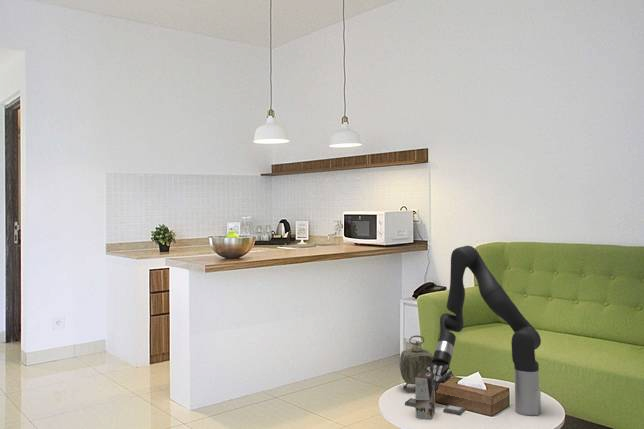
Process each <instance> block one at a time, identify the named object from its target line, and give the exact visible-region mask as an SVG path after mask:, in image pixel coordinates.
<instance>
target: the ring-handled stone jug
mask: <svg viewBox="0 0 644 429" xmlns="http://www.w3.org/2000/svg"><path fill="white" fill-rule="evenodd" d="M413 338H421V339H422V341H421V342H418V341H415V342H411V340H412V339H413ZM408 340H409V343H410V344H411V345H413V346H412V347H411V349H405V350H402V351H401V353H400V358H399V369H400V374H401V378H402V379H403V381H404V382H405V384H404V385H403V389H405V390H406V389H407V388H408V385H415V377H416V376H417V374H418V373H419V372H425V370H424V368H425V367H426V368H428V367H430V364H431V363H432V359H433V356H434V355H433V354H432V353H431V352H430V351H429V350H427V349H423V347H422V346H421V345H422V344H424V342H425V338H424V337H423V336H421V335H416V334H415V335H412V336H410V338H409V339H408ZM430 372H432V371H431V370H430Z"/></svg>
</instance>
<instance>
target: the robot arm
mask: <svg viewBox="0 0 644 429" xmlns="http://www.w3.org/2000/svg"><path fill="white" fill-rule="evenodd" d="M467 268H468V269H469V270H470V271H471V273H472V274H473V275H474V277H475V279H476V281H477V282H476V283H477V285H478V290H479V295H480V296H481V299H483V301H484V302H485V303H486V305H487V307H488V308H489V309H490V310H491V311H492V312H493V313H494V314H495V315H496V316H498V317H499V318H500V319H502V320H503V321H504V322H506V323H507V324H508V326H510V328H511V329H512V331H513V334H512V337H511V342H510V343H511V345H510V346H511V357H512V358H511V359H512V362H513V365H514V366H513V368H514V406H515V408H514V409H515V412H516V413H517V414H520V415H524V416H539V415H540V413H541V412H542V401H541V397H542V396H541V387H540V378H539V377H540V370H539V369H540V367H539V366H540V364H539V362H538V361H536V352H535V351H536V350H537V349H538V348H540V346H541V342H542V340H541V336H540V334H539V332H538V331H537V329H536V328H535V327H534V326H533V325H532V324H531V323H530V322H529V320H527V319H526V317H524V315H523V314H522V313H521V311H520V310H519V309H518V307H517V306H516V304H515V303H514V302H513V300H512V299H511V298H510V296H509V295H508V294H507V292H506V290H504V288H503V286H501V284H500V283H499V281H498V280H497V279H496V278H495V276H494V275H493V274H492V272H491V271H490V270H489V268H488V267H487V265H486V264H485V262H484V260H483V258H482V256H481V255H480V253H479V252H478V250H477V249H476V248H475V247H473V246H472V245H464V246H460V247H457V248H456V247H455V248H454V249H453V250H452V252H451V255H450V275H449V276H450V279H449V280H450V281H449V292H448V296H447V302H446V309H447V310H448V311H450V312H452V313H453V314H451V313H447V312H446V313H442V314H441V316H440V317H439V337H438V340H437V344H436V346H435V349H434V352H433V355H432V356H433V359H432V363H431V364H430V367H428V368H426V367H425V368H424V370H425V372H430V370H431V371H432V373H434V392H437V391H438V390H439V386H440V384H445V383H446V382H447V381H449V380H450V379H451V378H452V377H453V376H454V373H453V371H452V370H451V369H450V366H451V362H452V357H453V354H454V347H455V344H456V339H457V336H456V334H454V333H453V332H456V333H460V332H461V331H463V328H464V327H465V326H464V325H465V323H464V315H463V313H464V312H463V311H464V310H463V309H464V305H465V304H464V303H465V298H466V290H465V284H464V275H465V271H466V270H467Z"/></svg>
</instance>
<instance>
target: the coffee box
mask: <svg viewBox="0 0 644 429" xmlns="http://www.w3.org/2000/svg"><path fill="white" fill-rule="evenodd" d="M414 386H415V395H414V396H415V398H414V399H416V407H415V418H417V419H425V420H432V419H433V416H434V414H435V413H436V406H435V405H436V401H435V391H434V373H432V372H419V373H418V374H417V376H416V377H415V384H414Z"/></svg>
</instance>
